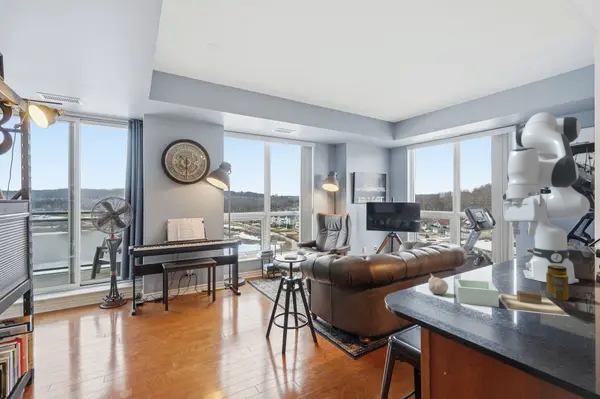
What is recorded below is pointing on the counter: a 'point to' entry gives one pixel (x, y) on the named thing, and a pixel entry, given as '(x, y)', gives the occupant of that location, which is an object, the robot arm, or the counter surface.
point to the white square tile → (527, 311)
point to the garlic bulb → (437, 285)
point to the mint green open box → (476, 292)
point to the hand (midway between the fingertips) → (523, 235)
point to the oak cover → (531, 302)
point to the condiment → (557, 282)
